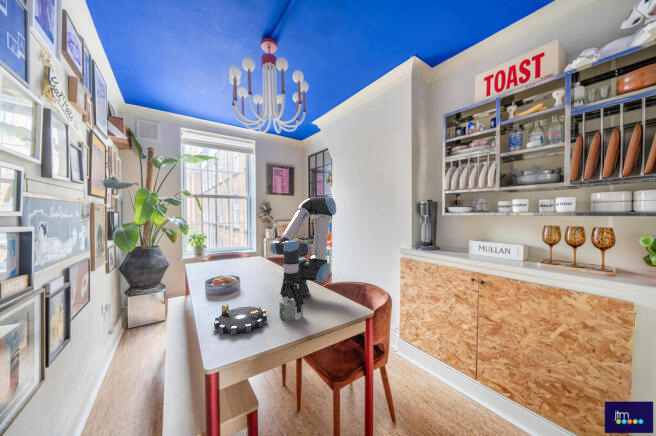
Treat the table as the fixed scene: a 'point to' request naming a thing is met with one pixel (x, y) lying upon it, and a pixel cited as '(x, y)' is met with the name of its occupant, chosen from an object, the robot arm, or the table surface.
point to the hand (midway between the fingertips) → (291, 313)
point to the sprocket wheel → (239, 319)
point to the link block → (288, 310)
